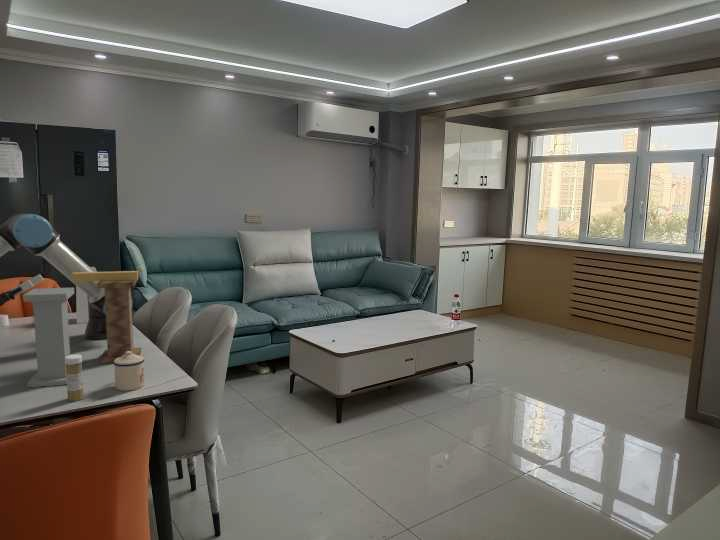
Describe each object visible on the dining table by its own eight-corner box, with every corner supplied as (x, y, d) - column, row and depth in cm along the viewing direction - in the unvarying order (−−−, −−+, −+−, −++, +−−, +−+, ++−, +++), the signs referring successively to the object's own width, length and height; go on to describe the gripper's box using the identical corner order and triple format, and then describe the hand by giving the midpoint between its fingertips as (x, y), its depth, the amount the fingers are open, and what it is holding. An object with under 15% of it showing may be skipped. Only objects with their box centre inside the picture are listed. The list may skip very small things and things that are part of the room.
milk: (76, 323, 249) (73, 269, 245) (77, 318, 259) (73, 266, 255) (104, 321, 255) (101, 268, 251) (103, 316, 265) (101, 265, 261)
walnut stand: (99, 364, 191) (95, 283, 187) (105, 353, 204) (101, 277, 199) (138, 361, 195) (134, 282, 191) (141, 351, 208) (138, 276, 203)
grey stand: (27, 387, 167) (20, 295, 163) (38, 374, 179) (32, 288, 175) (73, 384, 171) (67, 294, 167) (81, 371, 183) (76, 287, 179)
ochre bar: (71, 281, 189) (71, 273, 189) (73, 280, 192) (73, 272, 192) (137, 279, 196) (137, 272, 196) (138, 278, 199) (137, 270, 198)
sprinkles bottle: (72, 395, 161) (70, 353, 159) (87, 396, 161) (84, 354, 159) (64, 401, 157) (61, 358, 155) (78, 402, 157) (76, 358, 155)
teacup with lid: (147, 388, 169) (146, 353, 167) (116, 393, 164) (115, 357, 162) (140, 377, 179) (139, 344, 177) (111, 381, 174) (110, 347, 172)
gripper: (-2, 312, 196) (51, 283, 200) (-29, 328, 172) (33, 295, 176) (-15, 295, 194) (39, 266, 198) (-44, 309, 170) (19, 276, 174)
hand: (36, 280), depth 187 cm, fingers open, 13 cm apart
